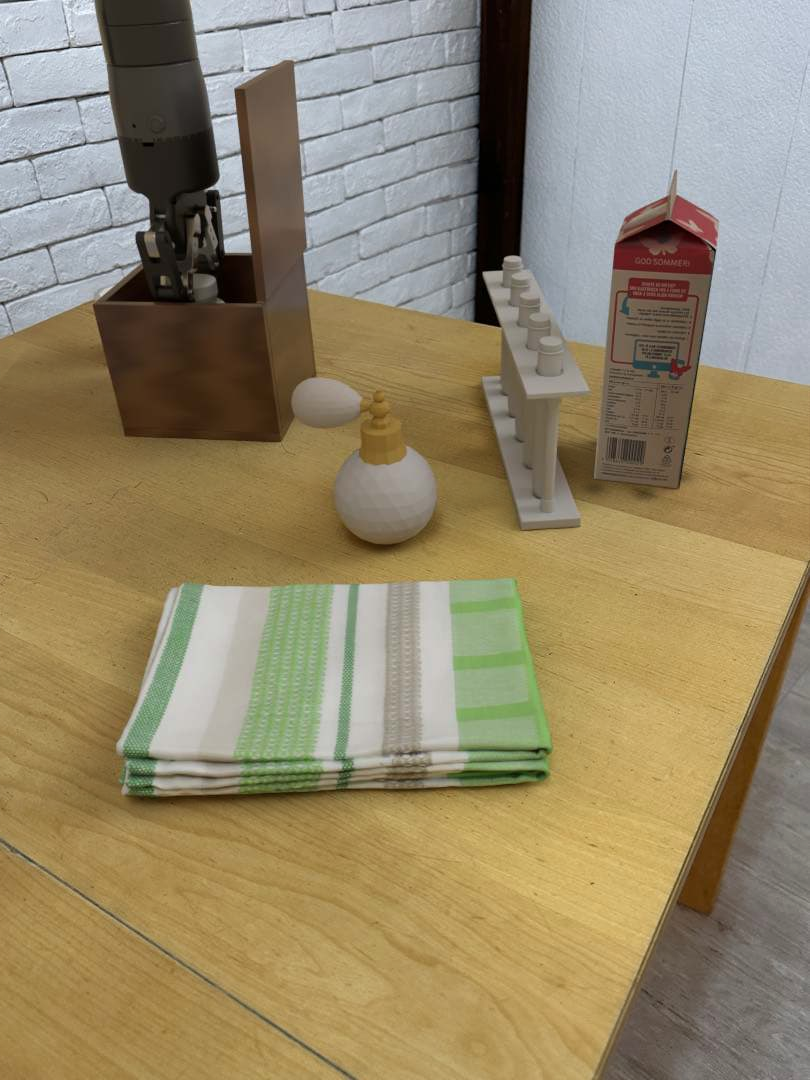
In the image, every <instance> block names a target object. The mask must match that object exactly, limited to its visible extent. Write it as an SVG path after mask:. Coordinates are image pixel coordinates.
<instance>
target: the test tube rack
mask: <svg viewBox="0 0 810 1080" xmlns="http://www.w3.org/2000/svg"><path fill="white" fill-rule="evenodd" d="M501 267H502V270H490V271H489V270H488V271H482V279H483V281H484V283H485V286H486V289H487V293H488V295H489V298H490V300H491V303H492V305H493V308H494V311H495V313H496V318H497V320H498V323H499V325H500V329H501V334H500V335H501V336H500V337H501V339H500V341H501V342H500V343H501V344H500V375H490V376H489V375H488V376H481V377H480V386H481V389H482V392H483V393H482V394H483V396H484V400H485V404H486V407H487V411H488V414H489V418H490V423H491V425H492V429H493V433H494V436H495V440H496V444H497V447H498V451H499V455H500V459H501V462H502V466H503V469H504V473H505V477H506V481H507V484H508V488H509V491H510V496H511V499H512V503H513V507H514V509H515V512H516V518H517V521H518V525H519V528H520V531H529V530H531V531H532V530H543V529H544V530H545V529H562V528H577V527H581V521H582V517H581V515H580V512H579V509H578V508H577V504H576V502H575V499H574V497H573V496H574V495H573V493H572V491H571V488H570V486H569V483H568V481H567V478H566V475H565V472H564V470H563V467H562V464H561V462H560V459H559V456H558V454H557V453H558V452H557V451H558V438H559V437H558V436H559V421H560V405H561V404H562V400H563V398H574V397H575V398H576V397H590V395H591V390H590V387H589V385H588V383H587V380H586V379H585V378H584V375H583V373H582V371H581V369H580V367H579V365H578V362H577V361H576V359H575V357H574V355H573V353H572V350H571V349H570V347H569V345H568V343H567V341H566V339H565V337H564V335H563V333H562V331H561V328H560V326H559V325H558V323H557V320H556V318H555V316H554V315H553V313H552V311H551V309H550V306H549V304H548V302H547V301H546V298H545V296H544V294H543V293H542V290H541V288H540V286H539V284H538V282H537V280H536V278H535V276H534V274H533V272H532V270H531V269H530V268H526V269H525V268H524V263H523V258H522V257H521V256H520V255H519V256H518V255H507V256H505V257H504V258H503V263H502V265H501ZM523 268H524V269H523Z"/></svg>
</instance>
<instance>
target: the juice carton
mask: <svg viewBox="0 0 810 1080" xmlns="http://www.w3.org/2000/svg"><path fill="white" fill-rule="evenodd" d="M677 182H678V169H674V172H673V175H672V179H671V183H670V187H669V190H668V195H666V196H663V197H662V198H659V199H657V200H655V201H653V202H651V203H649V204H647V205H644V206H642V207H640V208H638V209H636V210H634V211H633V212H630V213H629V214H628V215H626V216H625V217H624V219H623V222H622V224H621V227H620V229H619V232H618V235H617V237H616V240H615V243H614V247H613V248H614V249H613V257H612V258H613V259H612V269H611V270H612V271H611V280H610V292H609V302H608V303H609V304H608V314H607V315H608V316H607V325H606V335H605V336H606V338H605V348H604V359H603V371H602V381H601V382H602V383H601V392H600V405H599V412H598V413H599V416H598V423H597V424H598V427H597V435H596V448H595V460H594V471H593V480H599V481H600V480H602V481H610V482H617V483H618V482H619V483H625V484H634V485H635V484H636V485H643V486H651V487H652V486H653V487H660V488H670V489H676V490H677V489H679V490H680V487H681V481H682V475H683V467H684V461H685V454H686V448H687V443H688V435H689V428H690V423H691V416H692V410H693V403H694V397H695V390H696V384H697V379H698V372H699V365H700V358H701V352H702V345H703V339H704V333H705V325H706V320H707V319H706V318H707V314H708V308H709V307H708V306H709V301H710V300H709V299H710V294H711V287H712V282H713V281H712V280H713V274H714V269H715V261H716V255H717V248H718V237H719V227H720V220H719V219H717V218H716V217H715V216H714V215H713V214H711V213H710V212H709V211H707V210H705V209H703V208H701V207H699V206H698V205H696V204H694V203H692V202H690V201H689V200H688V199H685V198H684V197H682V196H681V195H679V194H677V190H678V189H677V188H678V187H677V186H678V185H677V184H678V183H677Z"/></svg>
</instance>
